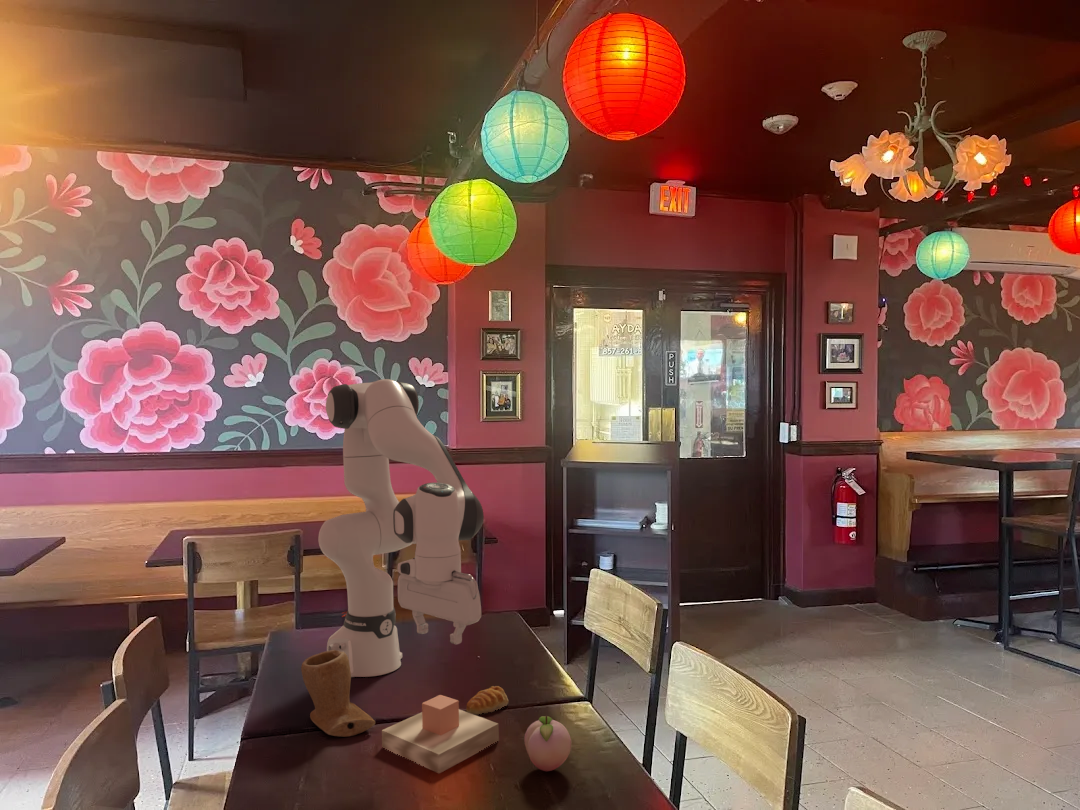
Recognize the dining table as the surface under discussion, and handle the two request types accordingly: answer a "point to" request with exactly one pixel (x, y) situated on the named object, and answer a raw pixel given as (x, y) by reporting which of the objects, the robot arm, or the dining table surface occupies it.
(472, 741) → the birch base
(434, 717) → the terracotta block
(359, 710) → the cork boot vase
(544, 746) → the decorative fruit
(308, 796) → the dining table surface
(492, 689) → the pastry
